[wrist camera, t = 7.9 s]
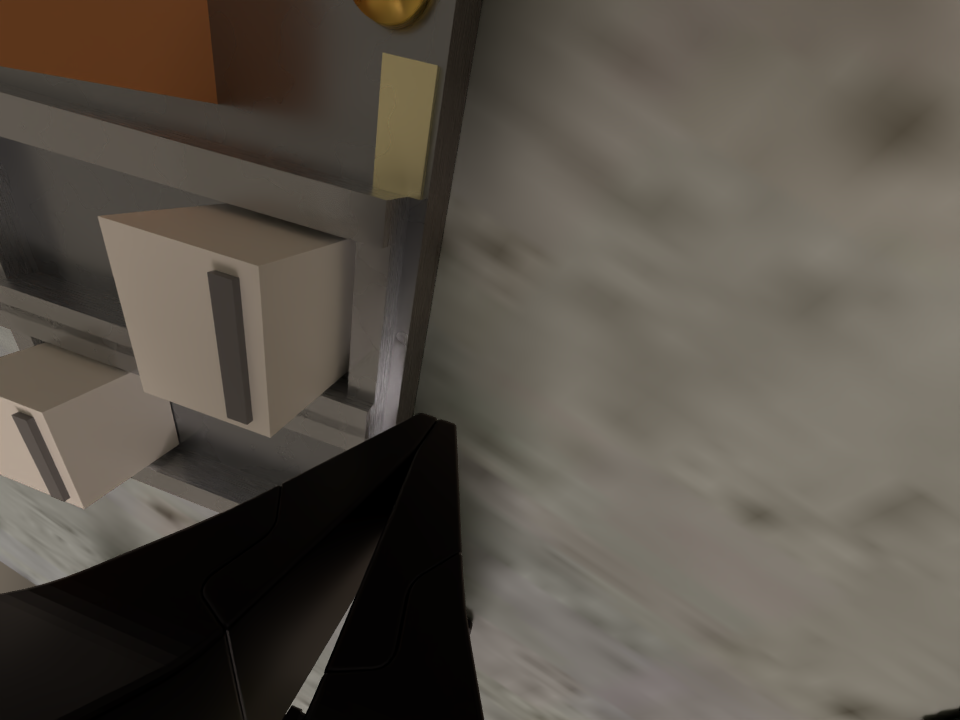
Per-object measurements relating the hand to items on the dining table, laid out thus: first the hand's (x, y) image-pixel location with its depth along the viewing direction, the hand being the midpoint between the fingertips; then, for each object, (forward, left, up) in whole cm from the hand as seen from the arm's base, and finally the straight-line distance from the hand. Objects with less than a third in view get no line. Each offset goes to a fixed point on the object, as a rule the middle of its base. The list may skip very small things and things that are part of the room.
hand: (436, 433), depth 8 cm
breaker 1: (-7, +15, -4) cm, 17 cm away
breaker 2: (0, +6, -4) cm, 8 cm away
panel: (-1, +11, -6) cm, 13 cm away
